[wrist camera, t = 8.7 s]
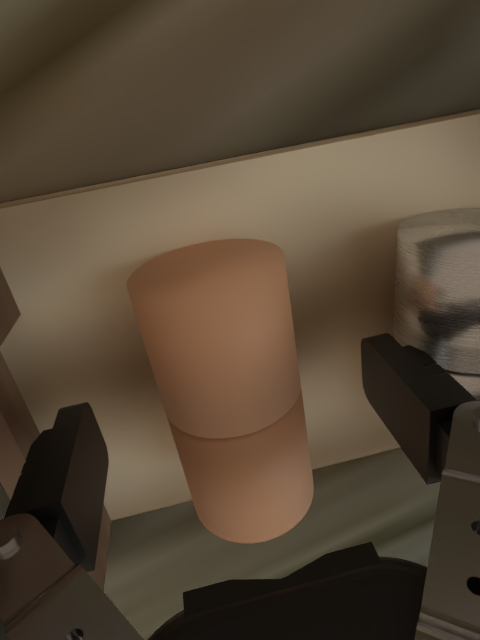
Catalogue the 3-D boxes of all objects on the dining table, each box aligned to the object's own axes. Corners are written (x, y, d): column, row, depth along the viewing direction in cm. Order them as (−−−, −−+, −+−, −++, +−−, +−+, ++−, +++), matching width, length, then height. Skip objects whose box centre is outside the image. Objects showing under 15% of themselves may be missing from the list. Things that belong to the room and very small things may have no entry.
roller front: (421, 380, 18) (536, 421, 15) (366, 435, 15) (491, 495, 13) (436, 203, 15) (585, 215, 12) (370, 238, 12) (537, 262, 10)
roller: (111, 268, 12) (150, 320, 9) (240, 229, 14) (316, 261, 10) (178, 476, 16) (223, 568, 13) (275, 430, 17) (339, 502, 14)
